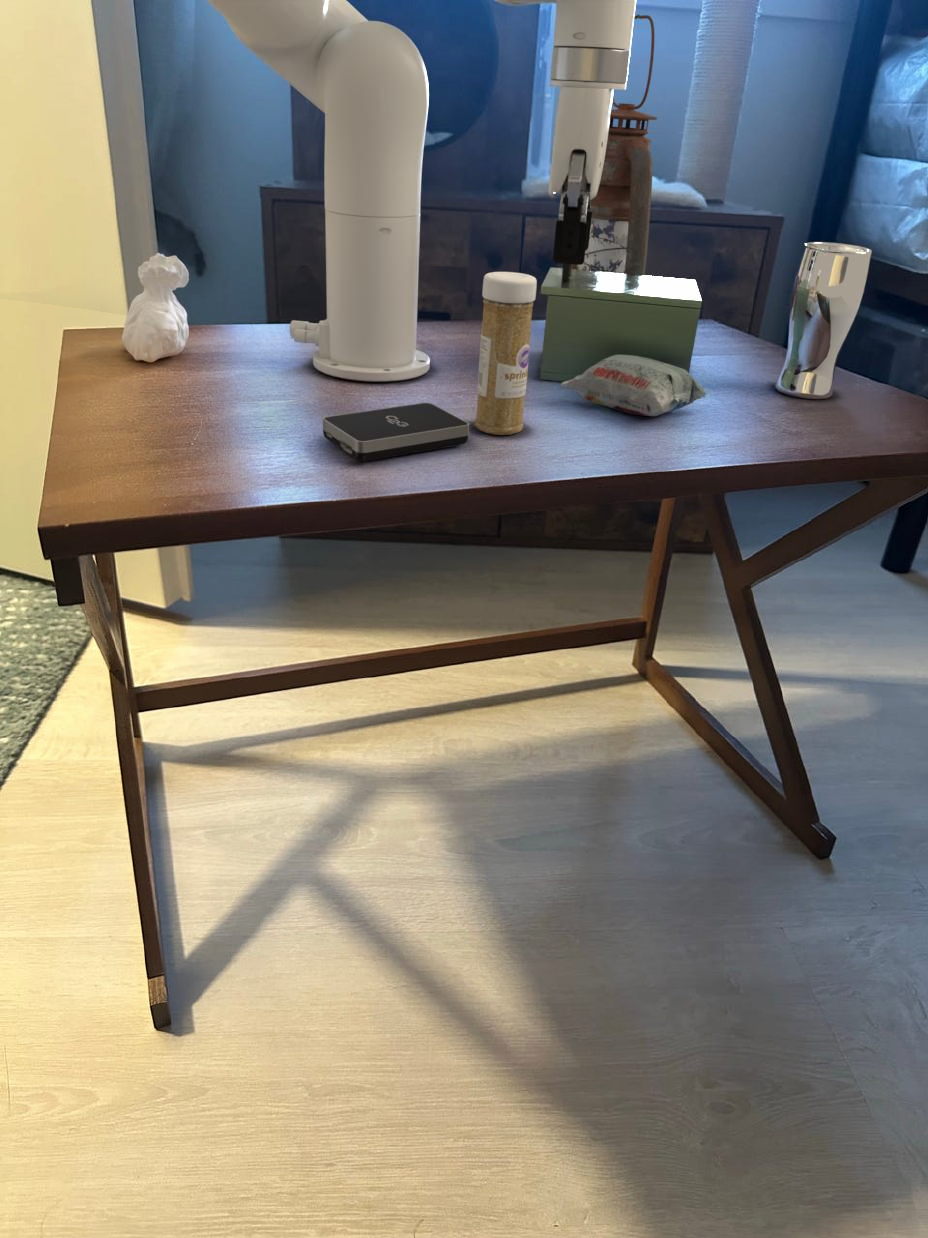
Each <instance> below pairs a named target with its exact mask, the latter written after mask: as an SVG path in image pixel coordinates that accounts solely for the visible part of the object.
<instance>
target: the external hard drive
mask: <svg viewBox="0 0 928 1238" xmlns="http://www.w3.org/2000/svg"><path fill="white" fill-rule="evenodd" d="M469 430H470V423H469V422H468V421H466V420H464V419H462V418H460V417H459V416H456V415H455V414H453V413H451V412H449V411H447V410H445V409H443V408H441V407H439V406H438V405H436V404H434V403H431V402H419V403H412V404H406V405H399V406H391V407H390V406H389V407H385V408H377V409H369V410H364V411H357V412H349V413H342V414H335V415H328V416H324V417H322V434H323V437H324V438H325V439H326V440H327V441H329V442H331V443H332V444H333V445H335V446H336V447H338V448H339V449H341V450H343V451H344V452H346V453H347V454H348V455H350V456H351V457H353V458H354V459H356V460H357V461H359V462H368V461H374V460H380V459H386V458H391V457H398V456H403V455H410V454H416V453H421V452H427V451H433V450H439V449H445V448H450V447H455V446H461V445H465V444H466V443H467V442H468V440H469V433H470V431H469Z"/></svg>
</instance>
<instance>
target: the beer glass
mask: <svg viewBox="0 0 928 1238" xmlns="http://www.w3.org/2000/svg"><path fill="white" fill-rule="evenodd" d="M872 252H873V250H872V249H871V248H868V247H864V246H860V245H856V244H855V245H854V244H848V243H847V244H846V243H838V242H827V241H826V242H825V241H811V242H806V243H804V248H803V252H802V255H801V258H800V262H799V264H798V269H797V271H796V275H795V279H794V283H793V287H792V293H791V297H790V298H791V299H790V305H789V321H788V337H787V339H788V340H787V348H786V349H787V350H786V355H785V360H784V364H783V366H782V369H781V371H780V374H779V376H778V378H777V381H776V383H775V389H776V390H777V391H778V392H779V393H781V394H783V395H787V396H790V397H795V398H800V399H806V400H807V399H808V400H825V399H829V398H830V397H832V396H833V393H834V382H835V372H836V366H837V362H838V359H839V356H840V353H841V351H842V348H843V346H844V345H845V341H846V339H847V337H848V335H849V332H850V330H851V329H852V326H853V323H854V321H855V319H856V317H857V313H858V312H859V309H860V305H861V302H862V300H863V295H864V293H865V287H866V284H867V279H868V274H869V268H870V261H871V257H872Z"/></svg>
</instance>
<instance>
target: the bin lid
mask: <svg viewBox="0 0 928 1238" xmlns="http://www.w3.org/2000/svg"><path fill="white" fill-rule="evenodd" d="M571 267H572V264H562V267H553V266H551V267H549V270H548V272H547V274H546V276H545V278H544V280H543V282H542V284H541V285H540V295H547V296H548V295H558V296H569V297H580V298H591V299H602V300H612V301H623V302H634V303H645V304H656V305H667V306H678V307H689V308H699V309H700V310H701V308H702V304H703V300H702V296H701V294H700V290H699V287H698V284H697V281H696V279H687V278H675V277H666V276H665V277H663V276H654V275H653V276H652V275H645V276H642V275H631V274H622V273H621V272H619V273H615V272H612V273H609V272H598V271H596V270H592V271H590V270H589V271H586V270H575V269H571Z"/></svg>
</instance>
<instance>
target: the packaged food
mask: <svg viewBox="0 0 928 1238" xmlns="http://www.w3.org/2000/svg"><path fill="white" fill-rule="evenodd" d="M560 387H563V388H566V387H568V388H569V389H572V390H574V391H576V392H578V394H579V396H580V397H582V398H583V399H584V400H586V401H588V402H590V403H593V404H597V405H600V406H604V407H607V408H610V409H614V410H616V411H620V412H622V413H626V414H631V415H636V416H643V417H658V416H660V415H664V414H667V413H669V412H673V411H676V410H679V409H682V408H684V407H685V406H689V405H691V404H693V403H694V402H695V401H697V400H700V399H702V397H703V398H706V396H707V395H708V393H707V392H706V390H705V389H704V388H703V387H702V385H701V384H700V383H699V381H697V380H696V379H695V377H694V376H692V375H691V374H690V372H689V373H688V372H687V371H686V370H685V369H682V368H679V367H676V366H673V365H670V364H666V363H663V362H660V361H657V360H653V359H650V358H644V357H640V356H634V355H622V354H617V355H613V356H611V357H609V358H606V359H603V360H602V361H600V362H599V363H597V364H595V365H593V366H592V367H590V368H588V370H586V371H585V372H584V373H583V374H582V375H578V376H577V377H575V378H574V379H573V380H569V381H565V382H561V383H560Z"/></svg>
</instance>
